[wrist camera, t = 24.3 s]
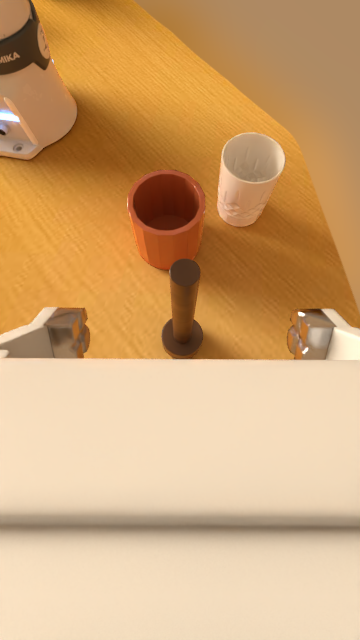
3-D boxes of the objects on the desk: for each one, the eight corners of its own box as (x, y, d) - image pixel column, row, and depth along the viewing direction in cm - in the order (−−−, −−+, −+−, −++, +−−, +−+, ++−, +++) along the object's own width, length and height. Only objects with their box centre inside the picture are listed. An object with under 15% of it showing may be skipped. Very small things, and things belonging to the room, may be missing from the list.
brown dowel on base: (162, 359, 42) (147, 306, 22) (162, 321, 43) (149, 239, 23) (201, 359, 42) (222, 306, 22) (201, 322, 43) (220, 240, 23)
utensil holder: (135, 269, 45) (125, 235, 37) (138, 213, 48) (129, 169, 40) (200, 270, 45) (206, 235, 37) (199, 214, 48) (204, 169, 40)
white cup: (204, 218, 48) (211, 169, 38) (225, 180, 50) (236, 124, 41) (253, 238, 47) (272, 192, 37) (272, 198, 49) (294, 145, 40)
